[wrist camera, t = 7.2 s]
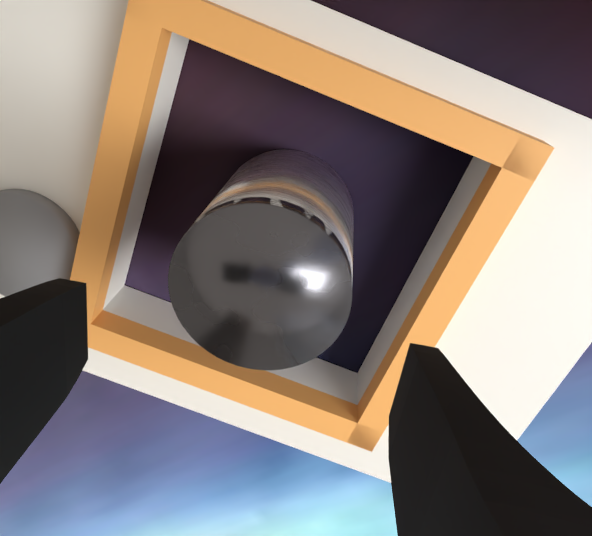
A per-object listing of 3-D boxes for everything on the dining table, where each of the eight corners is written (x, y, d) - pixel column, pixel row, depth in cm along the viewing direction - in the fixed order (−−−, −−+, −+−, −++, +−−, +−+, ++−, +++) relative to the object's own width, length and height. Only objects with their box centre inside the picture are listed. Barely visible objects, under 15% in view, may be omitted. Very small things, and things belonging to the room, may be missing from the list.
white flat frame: (681, 157, 17) (742, 182, 14) (455, 472, 24) (469, 530, 21) (17, -124, 16) (-52, -154, 13) (-30, 292, 22) (-84, 330, 19)
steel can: (366, 162, 18) (370, 223, 13) (340, 285, 20) (334, 384, 15) (227, 138, 18) (172, 188, 13) (216, 263, 20) (164, 352, 15)
